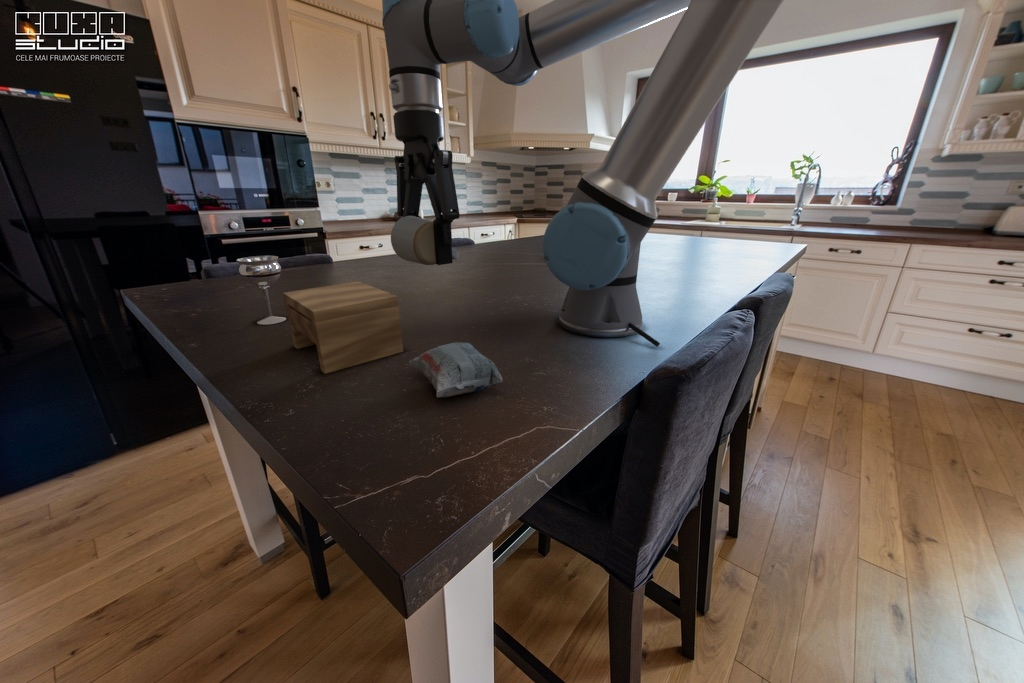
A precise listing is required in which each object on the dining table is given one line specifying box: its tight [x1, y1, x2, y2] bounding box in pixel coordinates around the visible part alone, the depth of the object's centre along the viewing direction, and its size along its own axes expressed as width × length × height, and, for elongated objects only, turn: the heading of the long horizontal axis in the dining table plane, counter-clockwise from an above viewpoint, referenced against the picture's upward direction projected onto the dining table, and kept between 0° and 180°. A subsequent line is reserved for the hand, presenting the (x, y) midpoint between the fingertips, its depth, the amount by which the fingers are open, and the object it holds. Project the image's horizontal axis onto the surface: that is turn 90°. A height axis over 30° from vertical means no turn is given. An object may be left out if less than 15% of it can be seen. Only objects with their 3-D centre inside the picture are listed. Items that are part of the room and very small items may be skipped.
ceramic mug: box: [390, 216, 460, 266], centre depth 68 cm, size 11×8×8 cm
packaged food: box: [408, 341, 504, 398], centre depth 51 cm, size 9×12×5 cm
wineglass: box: [236, 255, 287, 325], centre depth 75 cm, size 7×7×12 cm
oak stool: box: [282, 281, 404, 375], centre depth 62 cm, size 14×12×9 cm
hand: (430, 260), depth 69 cm, fingers closed on ceramic mug, 8 cm apart
